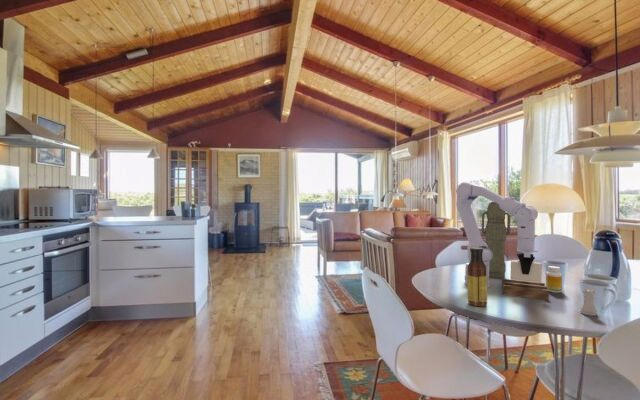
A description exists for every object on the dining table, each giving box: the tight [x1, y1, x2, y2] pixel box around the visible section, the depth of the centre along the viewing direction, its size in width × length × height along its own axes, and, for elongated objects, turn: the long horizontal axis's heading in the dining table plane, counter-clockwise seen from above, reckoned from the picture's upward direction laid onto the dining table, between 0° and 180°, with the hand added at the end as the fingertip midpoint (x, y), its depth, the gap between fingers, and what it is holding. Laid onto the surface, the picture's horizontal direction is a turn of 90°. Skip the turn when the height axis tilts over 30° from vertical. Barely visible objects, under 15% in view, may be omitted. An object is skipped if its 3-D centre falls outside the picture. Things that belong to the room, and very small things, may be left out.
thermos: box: [481, 201, 511, 280], centre depth 164 cm, size 9×12×35 cm
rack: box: [501, 278, 550, 301], centre depth 137 cm, size 15×13×4 cm
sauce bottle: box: [467, 247, 488, 308], centre depth 122 cm, size 7×6×20 cm
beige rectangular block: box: [510, 259, 543, 283], centre depth 134 cm, size 10×3×7 cm, turn 64°
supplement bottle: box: [545, 265, 563, 294], centre depth 141 cm, size 5×5×10 cm
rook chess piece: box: [580, 288, 598, 317], centre depth 114 cm, size 4×4×8 cm
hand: (525, 273), depth 134 cm, fingers closed on beige rectangular block, 3 cm apart
